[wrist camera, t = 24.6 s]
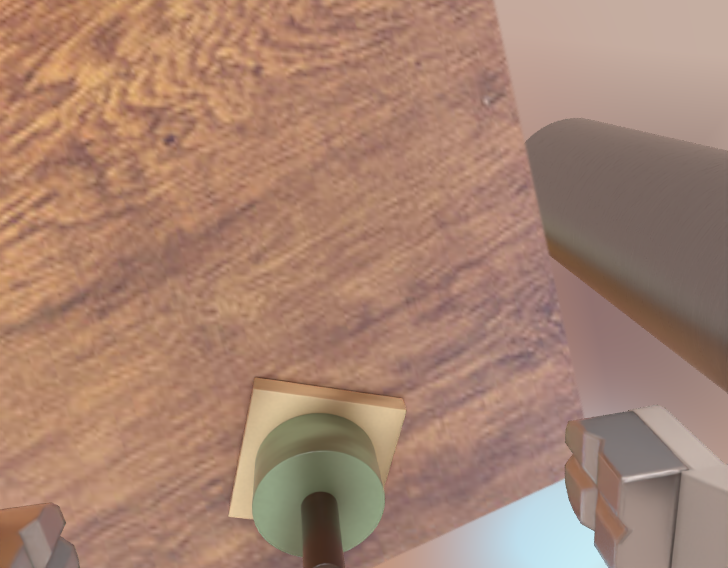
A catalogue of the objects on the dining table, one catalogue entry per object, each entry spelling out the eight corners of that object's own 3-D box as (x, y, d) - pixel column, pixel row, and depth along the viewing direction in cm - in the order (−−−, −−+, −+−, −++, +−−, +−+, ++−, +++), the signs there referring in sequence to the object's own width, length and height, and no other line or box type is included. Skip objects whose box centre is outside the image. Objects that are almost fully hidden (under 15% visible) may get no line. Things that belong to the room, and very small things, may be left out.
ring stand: (403, 398, 41) (442, 512, 31) (368, 516, 44) (393, 655, 34) (254, 376, 39) (243, 491, 29) (229, 501, 42) (212, 644, 32)
